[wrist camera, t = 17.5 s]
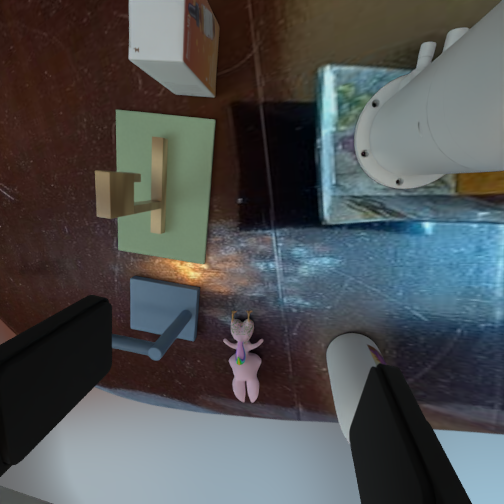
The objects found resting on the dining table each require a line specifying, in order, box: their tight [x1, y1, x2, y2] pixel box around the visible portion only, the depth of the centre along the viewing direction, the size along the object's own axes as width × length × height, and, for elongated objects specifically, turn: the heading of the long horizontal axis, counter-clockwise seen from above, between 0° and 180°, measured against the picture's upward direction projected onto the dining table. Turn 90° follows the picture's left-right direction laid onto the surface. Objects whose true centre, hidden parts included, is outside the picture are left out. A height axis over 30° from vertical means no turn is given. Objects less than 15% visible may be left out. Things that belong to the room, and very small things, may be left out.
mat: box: [116, 110, 216, 264], centre depth 38 cm, size 20×14×1 cm
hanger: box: [95, 137, 168, 234], centre depth 32 cm, size 13×2×12 cm, turn 173°
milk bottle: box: [326, 333, 386, 444], centre depth 31 cm, size 8×8×20 cm
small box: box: [129, 0, 220, 97], centre depth 29 cm, size 8×6×10 cm
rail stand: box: [112, 276, 200, 360], centre depth 38 cm, size 9×11×11 cm
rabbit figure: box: [223, 310, 263, 403], centre depth 41 cm, size 6×6×15 cm
